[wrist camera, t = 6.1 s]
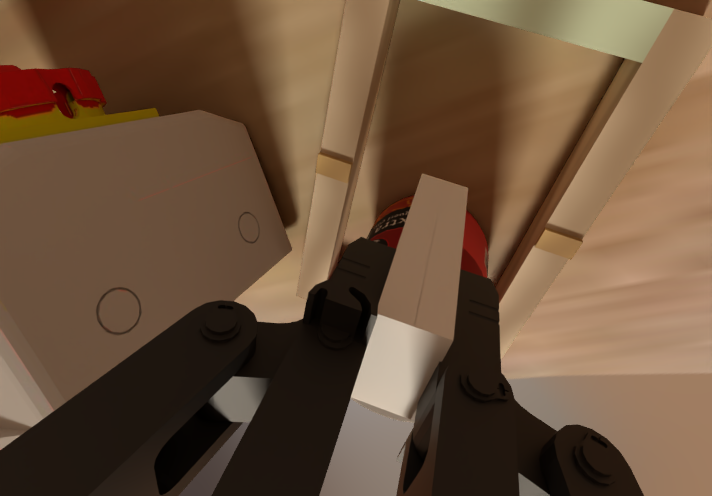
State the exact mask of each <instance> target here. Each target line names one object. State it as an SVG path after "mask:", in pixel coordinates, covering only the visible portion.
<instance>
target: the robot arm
mask: <svg viewBox="0 0 712 496" xmlns="http://www.w3.org/2000/svg"><path fill="white" fill-rule="evenodd" d="M467 196H468V188H467V187H464V186H461V185H458V184H455V183H451V182H448V181H445V180H442V179H439V178H436V177H432V176H429V175H426V174H423V173H422V175H421V178H420V181H419V184H418V187H417V190H416V193H415V195H414V198H413V201H412V204H411V207H410V210H409V213H408V216H407V219H406V222H405V225H404V228H403V231H402V234H401V236H400V239H399V242H398V245H397V248H396V249H395V248H392V247H389V246H386V245H383V244H380V243H377V242H374V241H371V240H368V239H365V238H362V237H360V238H359V239H357V240H356V241H354V242H352V243H351V244H349V245H348V247H347V249H346V251H345V253H344V255H343V257H342V259H341V261H340V262H339V264H338V266H337V269H336V270H335V272H334V274H333V276H332V278H331V280H326V281H323V282H321V283H319V284H316V285H315V286H314V287H313V288H312V289H311V290H310V291H309V292H308V297H307V302H306V307H305V312H304V317H303V319H301V320H299V321H296V322H291V323H266V322H257V320H256V317H255V315H254V313H253V312H252V311H251V310H249V309H248V308H247V307H246V306H244V305H242V304H239V303H237V302H234V301H224V300H218V301H213V302H208V303H205V304H203V305H201V306H199V307H197V308H195V309H193V310H192V311H191V312H189V313H188V314H186V315H185V316H184V317H182V318H181V319H180V320H178V321H177V322H175V323H174V324H173V325H171V326H170V327H169V328H167V329H166V330H164V331H163V332H162V333H160V334H159V335H158V336H156V337H155V338H153V339H152V340H151V341H149V342H148V343H147V344H145V345H144V346H142V347H141V348H140V349H138V350H137V351H136V352H134V353H133V354H132V355H130V356H129V357H127V358H126V359H125V360H123V361H122V362H121V363H119V364H118V365H116V366H115V367H114V368H112V369H111V370H110V371H108V372H107V373H105V374H104V375H103V376H101V377H100V378H99V379H97V380H96V381H94V382H93V383H92V384H90V385H89V386H88V387H86V388H85V389H83V390H82V391H81V392H79V393H78V394H77V395H75V396H74V397H72V398H71V399H70V400H68V401H67V402H66V403H64V404H63V405H62V406H60V407H59V408H57V409H56V410H55V411H53V412H52V413H51V414H49V415H48V416H46V417H45V418H44V419H42V420H41V421H40V422H38V423H37V424H35V425H34V426H33V427H31V428H30V429H29V430H27V431H26V432H24V433H23V434H22V435H20V436H19V437H18V438H16V439H15V440H13V441H12V442H11V443H9V444H8V445H7V446H5V447H4V448H3V449H1V450H0V496H178V495H179V494H180V493H181V492H182V491H183V490H184V489H185V488H186V487H187V485H188V484H189V483H190V482H191V481H192V480H193V478H194V477H195V476H196V475H197V474H198V473H199V472H200V471H201V470H202V468H203V467H204V466H205V465H206V464H207V463H208V462H209V460H210V459H211V458H212V457H213V456H214V455H215V454H216V452H217V451H218V450H219V449H220V448H221V447H222V446H223V445H224V443H225V442H226V441H227V440H228V439H229V438H230V437H231V436H232V434H233V433H234V432H235V431H236V430H237V429H238V428H239V427H240V425H241V424H242V423H243V422H250V424H249V426H248V427H247V429H246V431H245V433H244V435H243V437H242V439H241V441H240V443H239V445H238V446H237V448H236V450H235V452H234V454H233V456H232V458H231V460H230V462H229V463H228V466H227V467H226V469H225V471H224V473H223V475H222V477H221V479H220V481H219V483H218V484H217V487H216V488H215V490H214V492H213V494H212V496H319V494H320V491H321V488H322V485H323V482H324V478H325V476H326V472H327V469H328V466H329V463H330V460H331V457H332V454H333V451H334V448H335V445H336V442H337V438H338V435H339V432H340V429H341V426H342V423H343V420H344V416H345V413H346V410H347V407H348V404H349V401H350V398H354V399H357V400H359V401H362V402H365V403H367V404H370V405H373V406H375V407H378V408H381V409H383V410H386V411H389V412H392V413H394V414H397V415H400V416H402V417H405V418H408V419H410V420H411V418H412V416H413V414H414V413H415V411H416V416H415V422H414V428H413V429H412V431H411V433H410V435H409V436H408V438H407V440H406V442H405V444H404V445H403V447H402V449H401V451H400V453H399V455H398V458H397V460H396V461H397V462H400V463H401V462H402V460H403V462H402V467H401V473H400V478H399V484H398V490H397V496H644V495H643V493H642V491H641V489H640V487H639V485H638V483H637V481H636V479H635V477H634V475H633V472H632V470H631V468H630V467H629V465H628V463H627V462H626V461H625V459H624V457H623V456H622V454H621V453H620V452H619V450H618V449H617V448H616V447H615V446H614V445H613V444H612V443H611V442H610V441H609V440H608V439H606V438H605V437H603V436H602V435H600V434H599V433H597V432H595V431H594V430H592V429H590V428H587V427H584V426H581V425H566V426H564V427H563V428H562V429H561V430H559V431H558V432H557V431H556V430H554V429H553V428H551V427H550V426H548V425H547V424H545V423H544V422H542V421H541V420H539V419H538V418H536V417H535V416H533V415H532V414H530V413H529V412H528V411H527V410H525V409H524V408H523V407H521V406H520V405H519V404H518V403H517V401H516V400H515V399H514V396H513V392H512V388H511V386H510V384H509V383H508V381H507V380H506V378H505V377H504V375H503V374H502V373H501V354H500V325H499V322H500V319H499V312H498V311H499V294H498V292H497V290H496V288H495V286H494V285H493V283H492V281H491V279H489V278H486V277H483V276H480V275H477V274H474V273H471V272H468V271H465V270H462V269H460V268H461V257H462V247H463V237H464V227H465V216H466V206H467ZM416 409H417V410H416Z"/></svg>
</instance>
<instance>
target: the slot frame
mask: <svg viewBox="0 0 712 496" xmlns="http://www.w3.org/2000/svg"><path fill="white" fill-rule="evenodd" d="M419 1H422V2H426V3H429V4H433V5H436V6H440V7H444V8H447V9H451V10H454V11H458V12H461V13H465V14H469V15H472V16H476V17H479V18H483V19H486V20H490V21H494V22H497V23H501V24H504V25H508V26H512V27H515V28H519V29H522V30H526V31H529V32H533V33H537V34H540V35H544V36H547V37H551V38H554V39H558V40H562V41H565V42H569V43H572V44H576V45H579V46H583V47H587V48H590V49H594V50H597V51H601V52H604V53H608V54H612V55H615V56H619V57H622V58H625V59H624V61H623V63H622V65H621V66H620V68H619V70H618V72H617V73H616V75H615V77H614V79H613V81H612V82H611V84H610V86H609V88H608V89H607V91H606V93H605V95H604V96H603V98H602V100H601V102H600V104H599V105H598V107H597V109H596V111H595V112H594V114H593V116H592V118H591V119H590V121H589V123H588V125H587V126H586V128H585V130H584V132H583V134H582V135H581V137H580V139H579V141H578V142H577V144H576V146H575V148H574V149H573V151H572V153H571V155H570V156H569V158H568V160H567V162H566V164H565V165H564V167H563V169H562V171H561V172H560V174H559V176H558V178H557V179H556V181H555V183H554V185H553V186H552V188H551V190H550V192H549V194H548V195H547V197H546V199H545V201H544V202H543V204H542V206H541V208H540V209H539V211H538V213H537V215H536V216H535V218H534V220H533V222H532V224H531V225H530V227H529V229H528V231H527V232H526V234H525V236H524V238H523V239H522V241H521V243H520V245H519V246H518V248H517V250H516V252H515V254H514V255H513V257H512V259H511V261H510V262H509V264H508V266H507V268H506V269H505V271H504V273H503V275H502V276H501V278H500V280H499V282H498V284H497V285H496V287H495V288H496V290H497V292H498V294H499V311H498V312H499V319H500V322H499V325H500V354H501V359H502V357H503V356H504V354H505V353H506V351H507V350H508V348H509V347H510V345H511V344H512V342H513V341H514V339H515V338H516V336H517V335H518V333H519V332H520V331H521V329H522V328H523V326H524V325H525V323H526V322H527V320H528V319H529V317H530V316H531V314H532V313H533V311H534V310H535V308H536V307H537V305H538V304H539V302H540V301H541V299H542V298H543V296H544V295H545V294H546V292H547V291H548V289H549V288H550V286H551V285H552V283H553V282H554V280H555V279H556V277H557V276H558V274H559V273H560V271H561V270H562V268H563V267H564V265H565V264H566V262H567V261H568V259H570V260H571V259H572V258H573V256H574V255H575V253H576V252H577V250H578V249H579V247H580V246H581V244H582V243H583V241H582V239H583V237H584V236H585V234H586V233H587V231H588V230H589V228H590V227H591V225H592V224H593V222H594V221H595V220H596V218H597V217H598V215H599V214H600V212H601V211H602V209H603V208H604V206H605V205H606V203H607V202H608V200H609V199H610V197H611V196H612V194H613V193H614V191H615V190H616V188H617V187H618V185H619V184H620V183H621V181H622V180H623V178H624V177H625V175H626V174H627V172H628V171H629V169H630V168H631V166H632V165H633V163H634V162H635V160H636V159H637V157H638V156H639V154H640V153H641V151H642V150H643V148H644V147H645V146H646V144H647V143H648V141H649V140H650V138H651V137H652V135H653V134H654V132H655V131H656V129H657V128H658V126H659V125H660V123H661V122H662V120H663V119H664V117H665V116H666V114H667V113H668V111H669V110H670V109H671V107H672V106H673V104H674V103H675V101H676V100H677V98H678V97H679V95H680V94H681V92H682V91H683V89H684V88H685V86H686V85H687V83H688V82H689V80H690V79H691V77H692V76H693V75H694V73H695V72H696V70H697V69H698V67H699V66H700V64H701V63H702V61H703V60H704V58H705V57H706V55H707V54H708V52H709V51H710V49H711V48H712V18H708V17H704V16H700V15H696V14H693V13H689V12H685V11H681V10H677V9H674V8H670V7H666V6H662V5H658V4H654V3H651V2H647V1H643V0H419ZM399 3H400V0H346V3H345V9H344V15H343V21H342V27H341V33H340V39H339V45H338V51H337V56H336V62H335V68H334V74H333V80H332V86H331V92H330V98H329V104H328V110H327V116H326V122H325V128H324V133H323V139H322V145H321V151H320V153H319V154H318V160H317V166H316V172H315V173H317V175H316V181H315V187H314V193H313V199H312V205H311V210H310V216H309V222H308V228H307V234H306V240H305V246H304V252H303V258H302V264H301V270H300V276H299V282H298V288H297V293H296V296H298V297H301V298H303V299H306V300H307V297H308V292H309V291H310V290H311V289H312V288H313V287H314V286H315V285H316V284H319V283H321V282H323V281H326V280H331V278H332V276H333V274H334V272H335V270H336V269H337V264H338V259H339V255H340V251H341V247H342V243H343V238H344V234H345V230H346V226H347V222H348V217H349V213H350V209H351V205H352V201H353V196H354V192H355V188H356V184H357V179H358V175H359V171H360V167H361V163H362V158H363V154H364V150H365V146H366V142H367V137H368V133H369V129H370V125H371V121H372V116H373V112H374V108H375V104H376V100H377V95H378V91H379V87H380V83H381V79H382V74H383V70H384V66H385V62H386V58H387V53H388V49H389V45H390V41H391V37H392V32H393V28H394V24H395V20H396V15H397V11H398V7H399Z"/></svg>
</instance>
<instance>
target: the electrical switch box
mask: <svg viewBox="0 0 712 496" xmlns="http://www.w3.org/2000/svg"><path fill="white" fill-rule="evenodd" d="M52 90H54V91H56V93H53V91H52ZM106 104H107V102H106V100H105V98H104V96H103V94H102V92H101V90H100V87H99V85H98V83H97V81H96V79H95V77H93V76H91V74H90V72H89V71H88V70H84V69H80V68H62V69H26V70H21V69H20V68H18V67H17V66H14V65H0V450H1V449H3V448H4V447H5V446H7V445H8V444H9V443H11V442H12V441H13V440H15V439H16V438H18V437H19V436H20V435H22V434H23V433H24V432H26V431H27V430H29V429H30V428H31V427H33V426H34V425H35V424H37V423H38V422H40V421H41V420H42V419H44V418H45V417H46V416H48V415H49V414H51V413H52V412H53V411H55V410H56V409H57V408H59V407H60V406H62V405H63V404H64V403H66V402H67V401H68V400H70V399H71V398H72V397H74V396H75V395H77V394H78V393H79V392H81V391H82V390H83V389H85V388H86V387H88V386H89V385H90V384H92V383H93V382H94V381H96V380H97V379H99V378H100V377H101V376H103V375H104V374H105V373H107V372H108V371H110V370H111V369H112V368H114V367H115V366H116V365H118V364H119V363H121V362H122V361H123V360H125V359H126V358H127V357H129V356H130V355H132V354H133V353H134V352H136V351H137V350H138V349H140V348H141V347H142V346H144V345H145V344H147V343H148V342H149V341H151V340H152V339H153V338H155V337H156V336H158V335H159V334H160V333H162V332H163V331H164V330H166V329H167V328H169V327H170V326H171V325H173V324H174V323H175V322H177V321H178V320H180V319H181V318H182V317H184V316H185V315H186V314H188V313H189V312H191V311H192V310H193V309H195V308H197V307H199V306H201V305H203V304H205V303H208V302H213V301H218V300H224V301H234V300H235V299H236V298H237V297H238V296H240V295H241V294H242V293H243V292H244V291H245V290H247V289H248V288H249V287H250V286H251V285H252V284H253V283H255V282H256V281H257V280H258V279H259V278H260V277H262V276H263V275H264V274H265V273H266V272H267V271H268V270H270V269H271V268H272V267H273V266H274V265H275V264H277V263H278V262H279V261H280V260H281V259H282V258H283V257H285V256H286V255H287V254H288V253H289V252H290V251H292V247H291V244H290V242H289V239H288V237H287V234H286V231H285V229H284V226H283V223H282V221H281V218H280V216H279V213H278V210H277V208H276V205H275V202H274V200H273V197H272V194H271V192H270V189H269V187H268V184H267V181H266V179H265V176H264V173H263V171H262V168H261V165H260V163H259V160H258V158H257V155H256V152H255V150H254V147H253V145H252V142H251V140H250V137H249V135H248V132H247V129H246V127H245V126H244V124H243V123H240V122H237V121H234V120H231V119H227V118H224V117H221V116H218V115H215V114H212V113H209V112H206V111H202V110H195V111H189V112H184V113H178V114H172V115H166V116H160V117H159V114H158V112H157V110H156V108H150V109H144V110H137V111H130V112H123V113H116V114H109V115H105V113H104V110H103V107H104V106H105V105H106ZM59 110H60V111H61V112H60V111H59Z"/></svg>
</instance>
